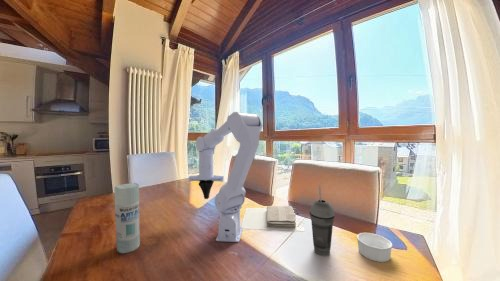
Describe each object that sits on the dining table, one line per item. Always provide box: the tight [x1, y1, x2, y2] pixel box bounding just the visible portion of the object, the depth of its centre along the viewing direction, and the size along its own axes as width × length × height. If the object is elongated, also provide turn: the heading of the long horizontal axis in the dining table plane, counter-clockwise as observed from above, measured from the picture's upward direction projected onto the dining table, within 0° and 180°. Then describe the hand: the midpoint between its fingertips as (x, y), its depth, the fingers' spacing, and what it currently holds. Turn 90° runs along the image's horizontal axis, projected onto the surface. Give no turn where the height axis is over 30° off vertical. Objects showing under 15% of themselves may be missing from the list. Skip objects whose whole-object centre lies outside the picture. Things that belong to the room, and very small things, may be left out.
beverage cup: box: [309, 184, 336, 257], centre depth 58 cm, size 7×7×20 cm
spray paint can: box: [113, 182, 141, 254], centre depth 61 cm, size 6×6×20 cm
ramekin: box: [356, 232, 393, 263], centre depth 57 cm, size 9×9×4 cm
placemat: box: [240, 207, 305, 232], centre depth 83 cm, size 21×24×1 cm
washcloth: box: [266, 205, 296, 228], centre depth 82 cm, size 12×18×3 cm, turn 176°
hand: (206, 198), depth 81 cm, fingers closed
